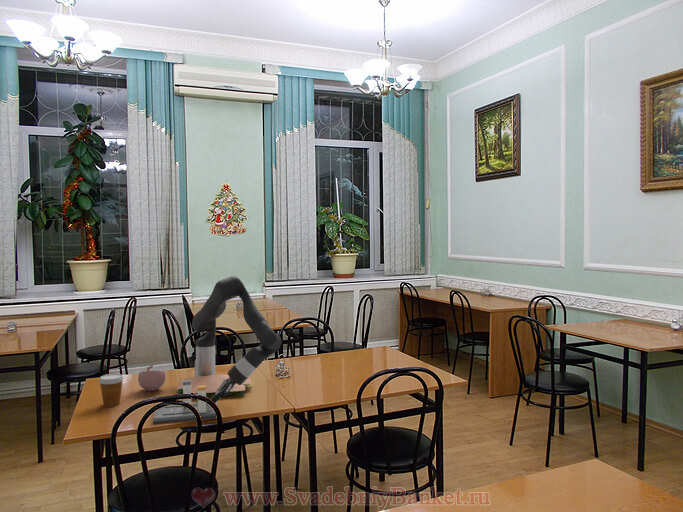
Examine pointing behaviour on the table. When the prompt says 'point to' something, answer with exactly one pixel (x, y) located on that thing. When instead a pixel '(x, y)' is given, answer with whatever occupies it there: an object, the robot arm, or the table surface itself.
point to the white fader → (187, 390)
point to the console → (181, 413)
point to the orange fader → (200, 403)
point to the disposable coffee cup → (111, 389)
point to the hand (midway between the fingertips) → (210, 402)
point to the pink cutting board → (212, 383)
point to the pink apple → (151, 379)
